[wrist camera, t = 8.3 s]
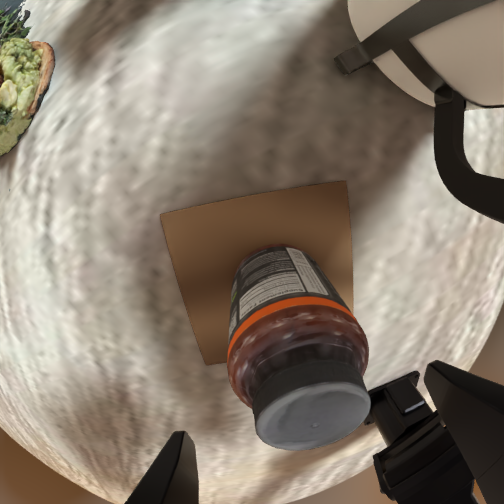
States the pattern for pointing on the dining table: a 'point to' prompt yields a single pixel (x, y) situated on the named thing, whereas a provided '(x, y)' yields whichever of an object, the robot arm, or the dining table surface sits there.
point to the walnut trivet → (248, 240)
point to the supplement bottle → (295, 351)
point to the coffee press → (439, 74)
